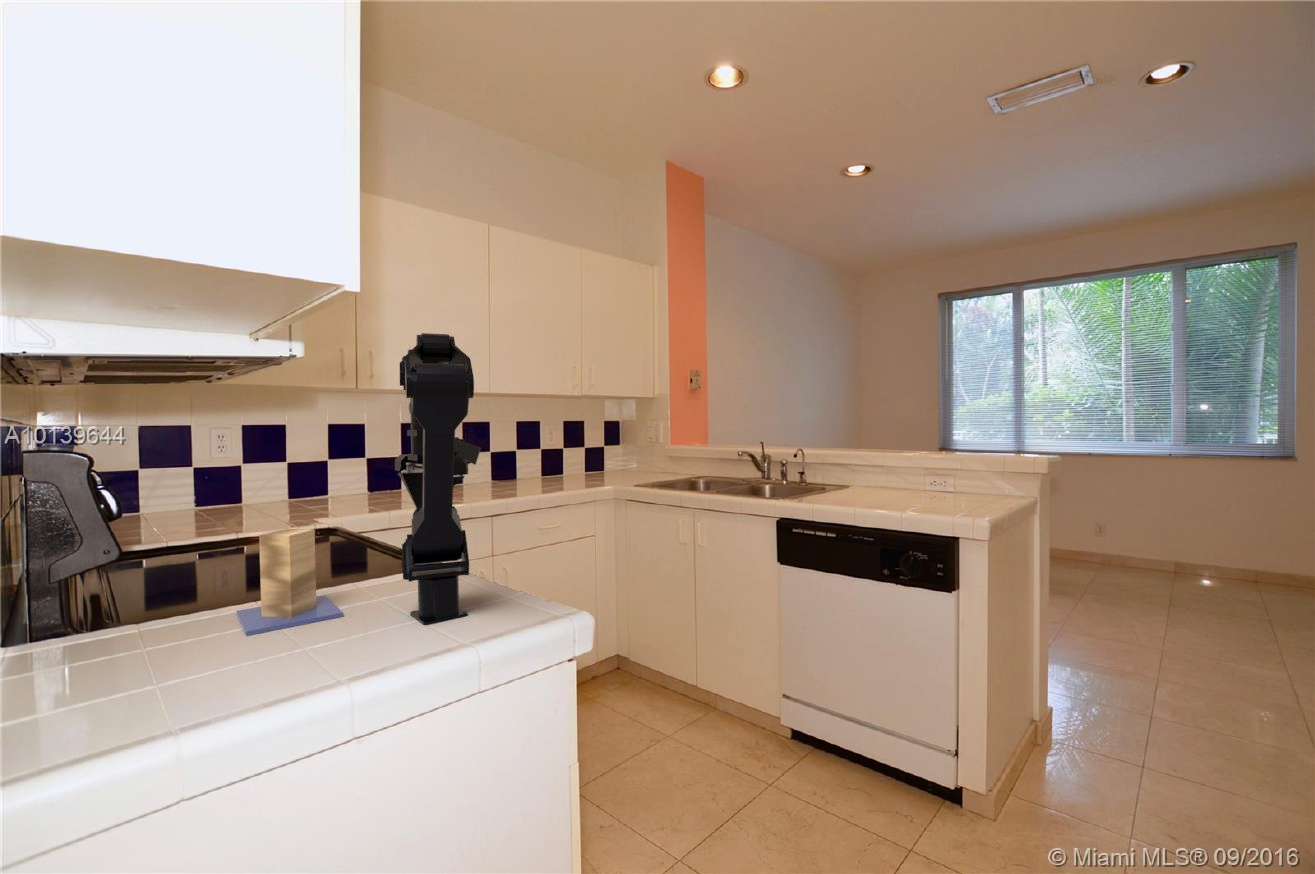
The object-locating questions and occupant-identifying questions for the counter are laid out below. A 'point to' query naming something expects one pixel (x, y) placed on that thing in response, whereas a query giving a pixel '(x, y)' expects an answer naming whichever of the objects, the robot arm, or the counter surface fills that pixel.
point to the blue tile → (259, 624)
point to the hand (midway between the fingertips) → (430, 514)
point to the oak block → (287, 572)
